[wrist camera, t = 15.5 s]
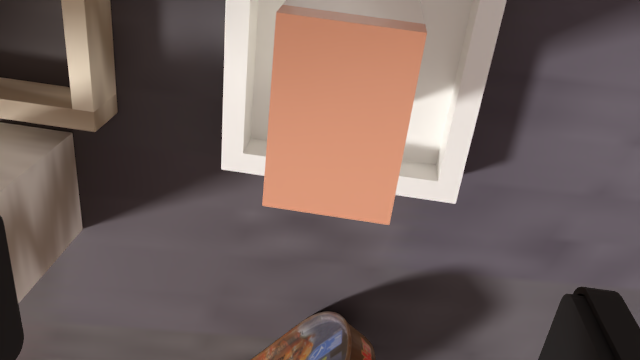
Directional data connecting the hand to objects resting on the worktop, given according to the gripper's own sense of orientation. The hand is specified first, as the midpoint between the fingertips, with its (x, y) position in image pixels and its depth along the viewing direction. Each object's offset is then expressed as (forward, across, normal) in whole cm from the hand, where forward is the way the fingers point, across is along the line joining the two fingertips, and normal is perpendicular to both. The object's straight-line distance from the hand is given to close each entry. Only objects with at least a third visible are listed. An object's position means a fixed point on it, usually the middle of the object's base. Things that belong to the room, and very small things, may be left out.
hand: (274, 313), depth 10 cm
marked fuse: (+18, -1, 0) cm, 18 cm away
